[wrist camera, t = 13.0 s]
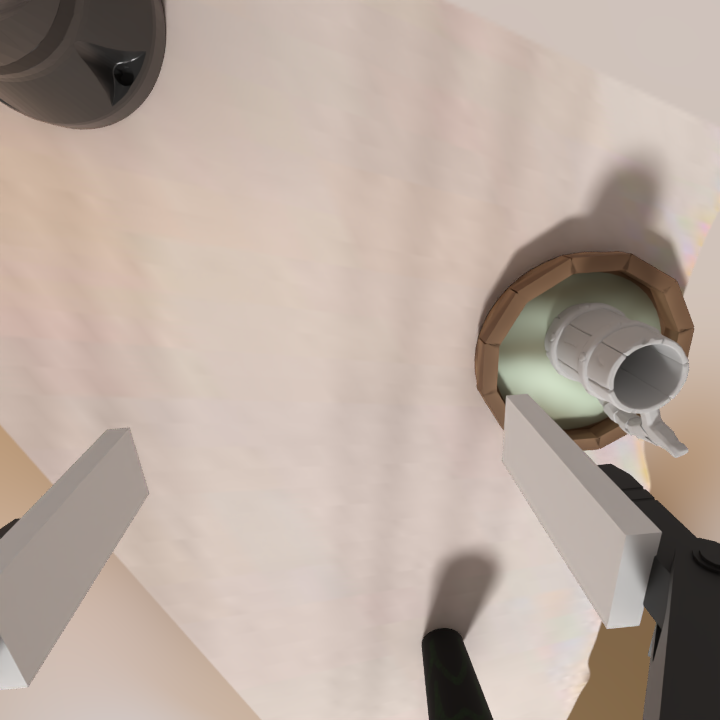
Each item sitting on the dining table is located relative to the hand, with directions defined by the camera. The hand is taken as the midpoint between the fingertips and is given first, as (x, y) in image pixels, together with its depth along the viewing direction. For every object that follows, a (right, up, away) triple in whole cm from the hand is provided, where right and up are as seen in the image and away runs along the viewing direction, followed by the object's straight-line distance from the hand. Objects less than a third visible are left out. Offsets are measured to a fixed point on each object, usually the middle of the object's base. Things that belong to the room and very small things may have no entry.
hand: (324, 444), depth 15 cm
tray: (+23, +4, +28) cm, 37 cm away
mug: (+24, +4, +27) cm, 36 cm away
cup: (+12, -35, +43) cm, 57 cm away
